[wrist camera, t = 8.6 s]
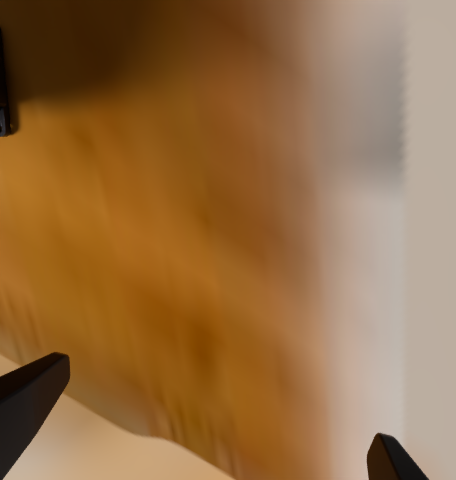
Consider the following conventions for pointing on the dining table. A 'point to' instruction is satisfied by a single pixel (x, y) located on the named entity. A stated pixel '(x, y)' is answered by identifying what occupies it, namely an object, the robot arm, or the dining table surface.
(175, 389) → the dining table surface
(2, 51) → the robot arm
